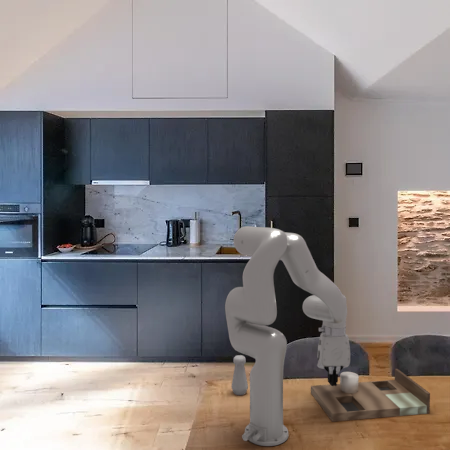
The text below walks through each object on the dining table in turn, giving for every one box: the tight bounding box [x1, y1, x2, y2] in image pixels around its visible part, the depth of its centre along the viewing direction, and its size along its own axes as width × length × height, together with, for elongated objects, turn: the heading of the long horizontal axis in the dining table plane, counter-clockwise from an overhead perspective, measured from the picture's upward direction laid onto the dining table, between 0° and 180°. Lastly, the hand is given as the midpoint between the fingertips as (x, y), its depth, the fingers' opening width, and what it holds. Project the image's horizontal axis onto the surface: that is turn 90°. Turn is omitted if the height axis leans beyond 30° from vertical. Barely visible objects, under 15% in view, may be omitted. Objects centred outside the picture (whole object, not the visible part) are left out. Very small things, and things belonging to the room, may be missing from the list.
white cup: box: [339, 371, 360, 393], centre depth 156 cm, size 6×6×5 cm
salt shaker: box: [231, 354, 249, 396], centre depth 160 cm, size 6×6×13 cm
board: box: [310, 368, 431, 422], centre depth 152 cm, size 32×20×6 cm, turn 98°
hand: (332, 384), depth 155 cm, fingers closed
